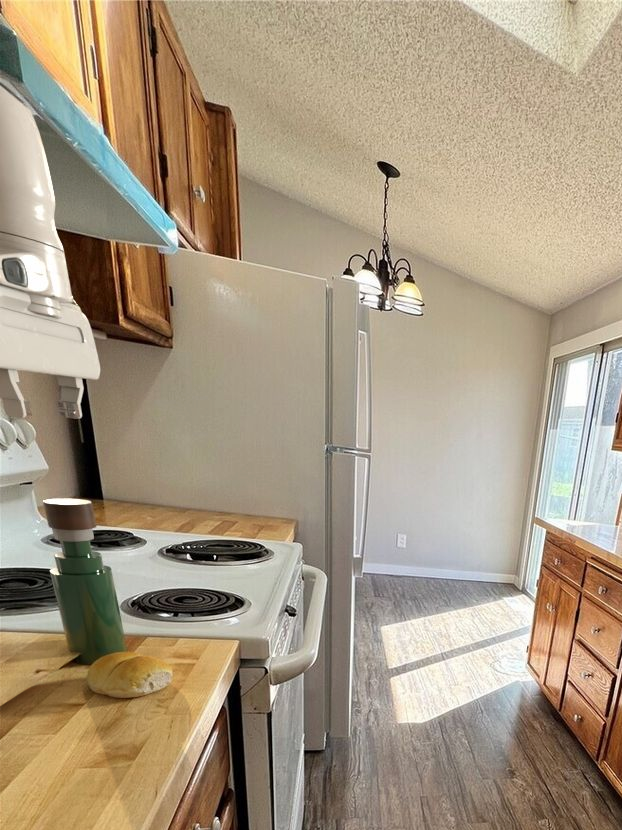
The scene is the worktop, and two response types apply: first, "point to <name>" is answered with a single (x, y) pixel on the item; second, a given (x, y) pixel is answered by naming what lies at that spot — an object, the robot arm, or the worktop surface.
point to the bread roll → (128, 675)
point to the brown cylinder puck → (69, 514)
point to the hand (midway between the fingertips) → (47, 417)
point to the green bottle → (86, 598)
